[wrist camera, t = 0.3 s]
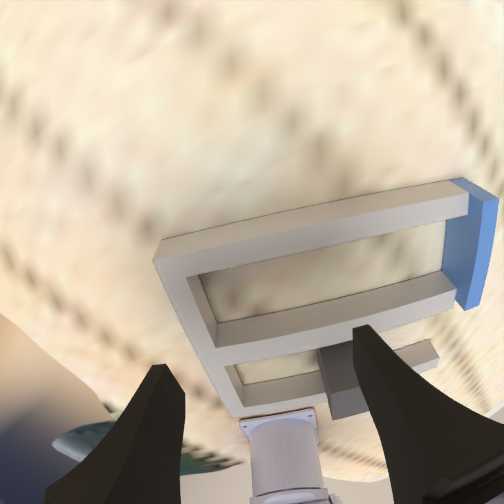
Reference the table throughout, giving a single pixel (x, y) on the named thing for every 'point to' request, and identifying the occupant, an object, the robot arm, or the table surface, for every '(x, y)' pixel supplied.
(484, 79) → the table surface
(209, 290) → the table surface
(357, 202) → the grey blue slatted frame
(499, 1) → the table surface
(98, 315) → the table surface
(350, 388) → the dark gray block
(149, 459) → the robot arm
